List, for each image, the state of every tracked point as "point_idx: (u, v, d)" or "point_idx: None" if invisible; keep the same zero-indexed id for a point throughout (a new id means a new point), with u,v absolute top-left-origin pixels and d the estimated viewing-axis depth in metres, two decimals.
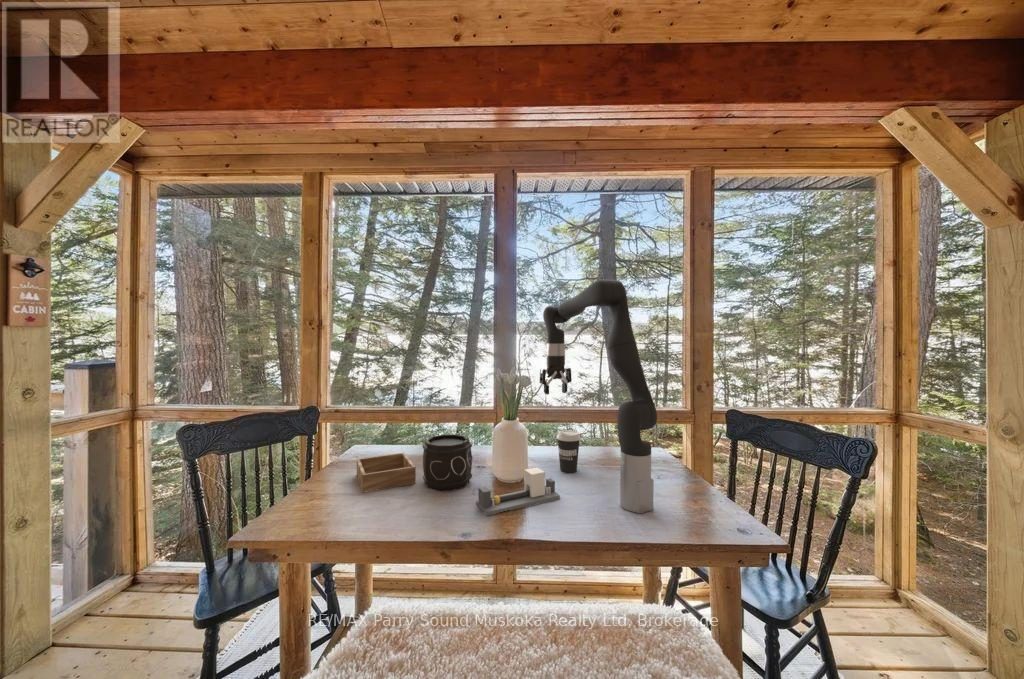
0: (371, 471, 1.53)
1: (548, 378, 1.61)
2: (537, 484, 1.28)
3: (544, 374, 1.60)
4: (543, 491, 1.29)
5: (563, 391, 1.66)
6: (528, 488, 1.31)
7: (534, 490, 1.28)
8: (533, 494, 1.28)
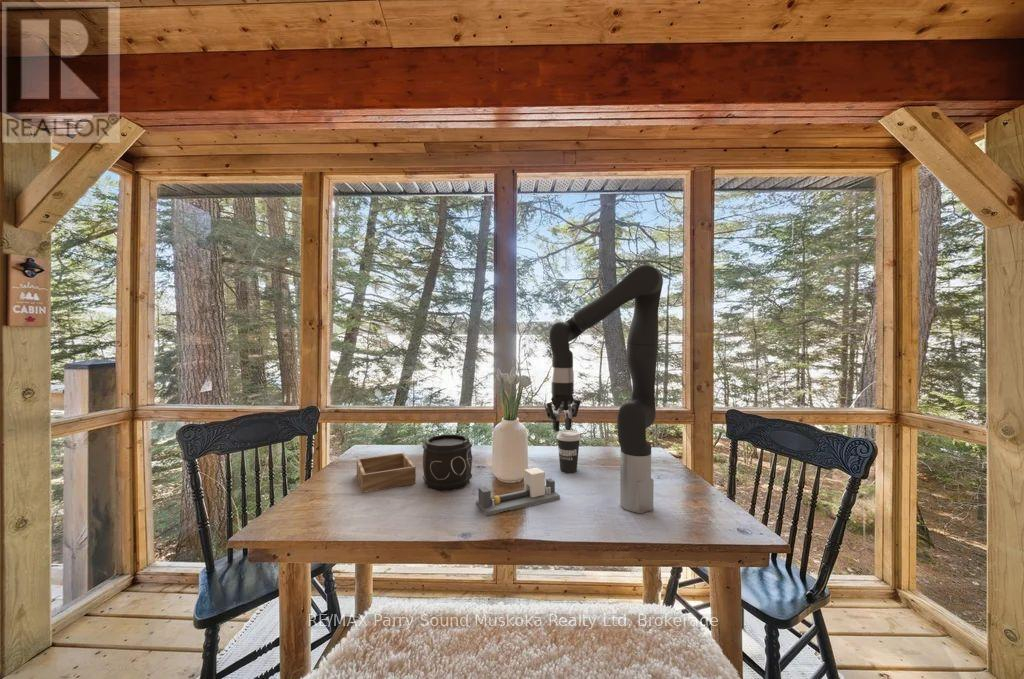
0: (371, 471, 1.53)
1: (556, 412, 1.34)
2: (537, 484, 1.28)
3: (550, 408, 1.32)
4: (543, 491, 1.29)
5: (567, 428, 1.36)
6: (528, 488, 1.31)
7: (534, 490, 1.28)
8: (533, 494, 1.28)
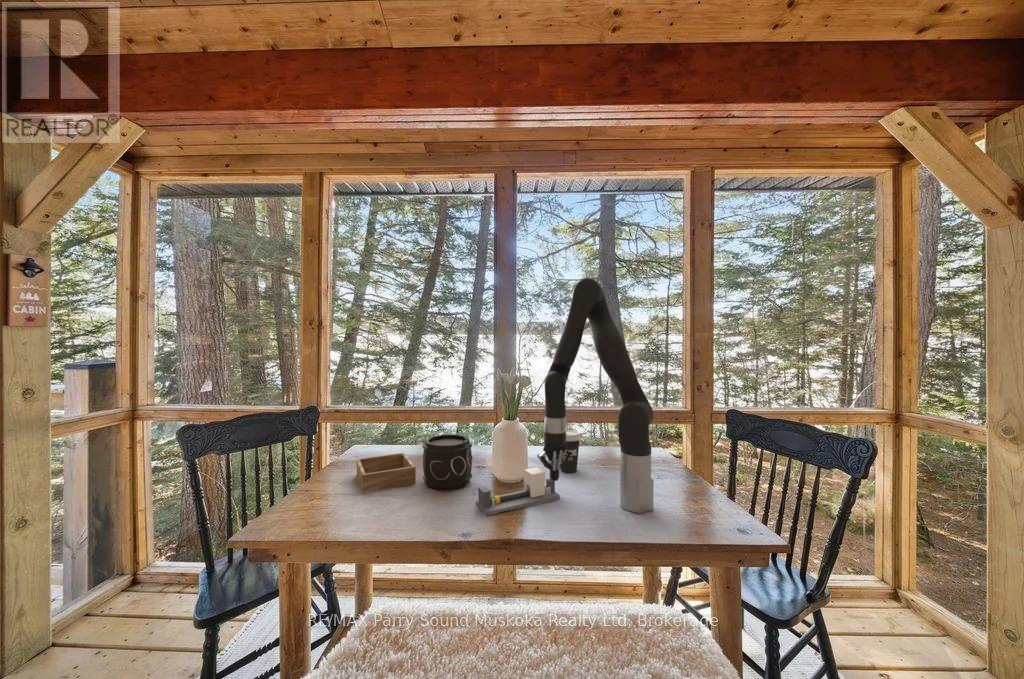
0: (371, 471, 1.53)
1: (551, 462, 1.33)
2: (537, 484, 1.28)
3: (545, 460, 1.31)
4: (543, 491, 1.29)
5: None
6: (528, 488, 1.31)
7: (534, 490, 1.28)
8: (533, 494, 1.28)
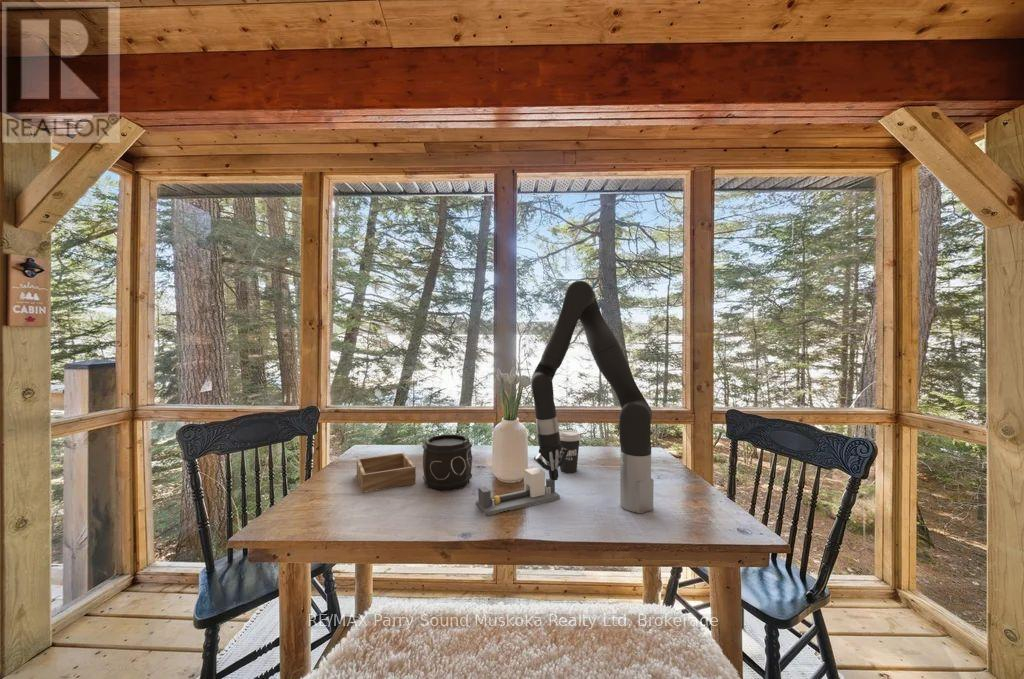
0: (371, 471, 1.53)
1: (548, 462, 1.33)
2: (537, 484, 1.28)
3: (541, 462, 1.31)
4: (543, 491, 1.29)
5: None
6: (528, 488, 1.31)
7: (534, 490, 1.28)
8: (533, 494, 1.28)
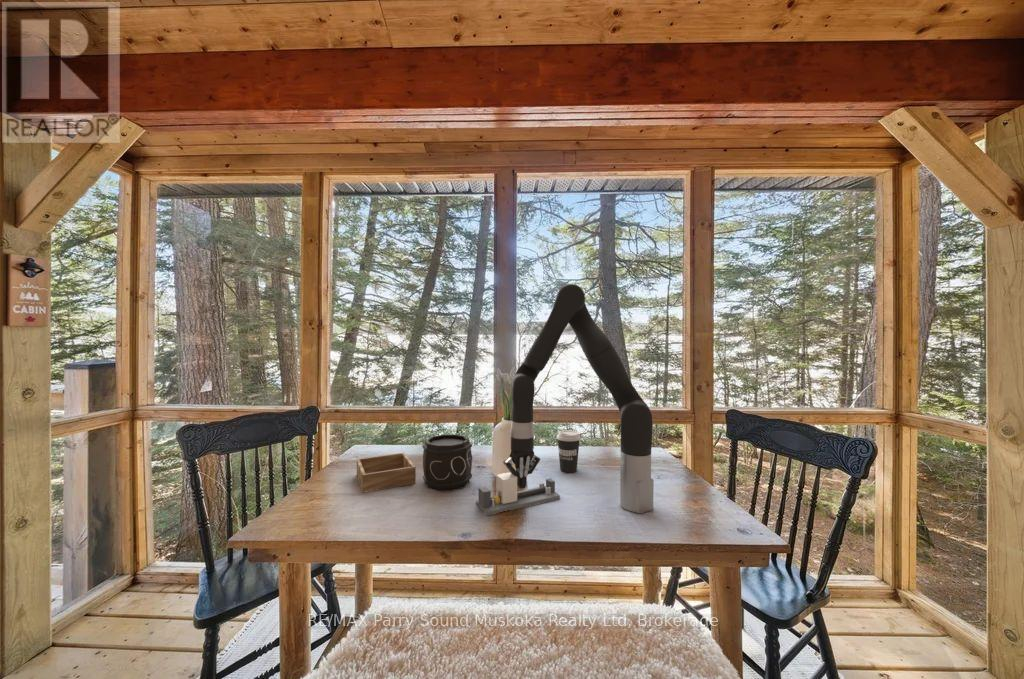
0: (371, 471, 1.53)
1: (518, 468, 1.28)
2: (509, 490, 1.24)
3: (511, 467, 1.26)
4: (515, 497, 1.25)
5: None
6: (500, 494, 1.27)
7: (505, 496, 1.23)
8: (504, 500, 1.23)
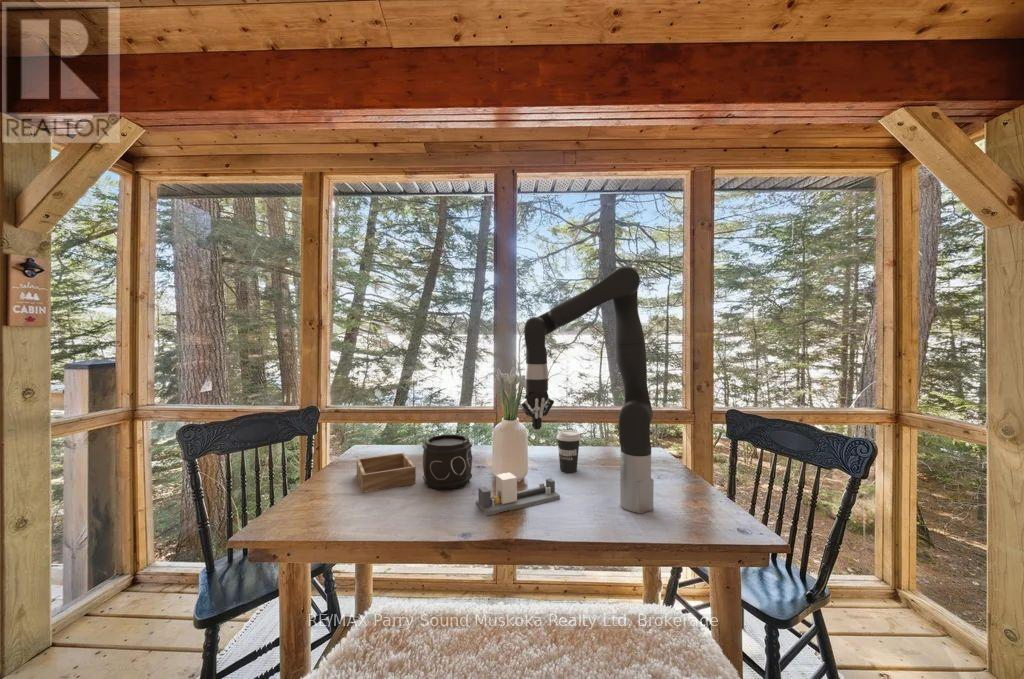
0: (371, 471, 1.53)
1: (533, 410, 1.31)
2: (508, 490, 1.24)
3: (526, 408, 1.29)
4: (515, 497, 1.25)
5: None
6: (500, 494, 1.27)
7: (505, 496, 1.23)
8: (504, 500, 1.23)
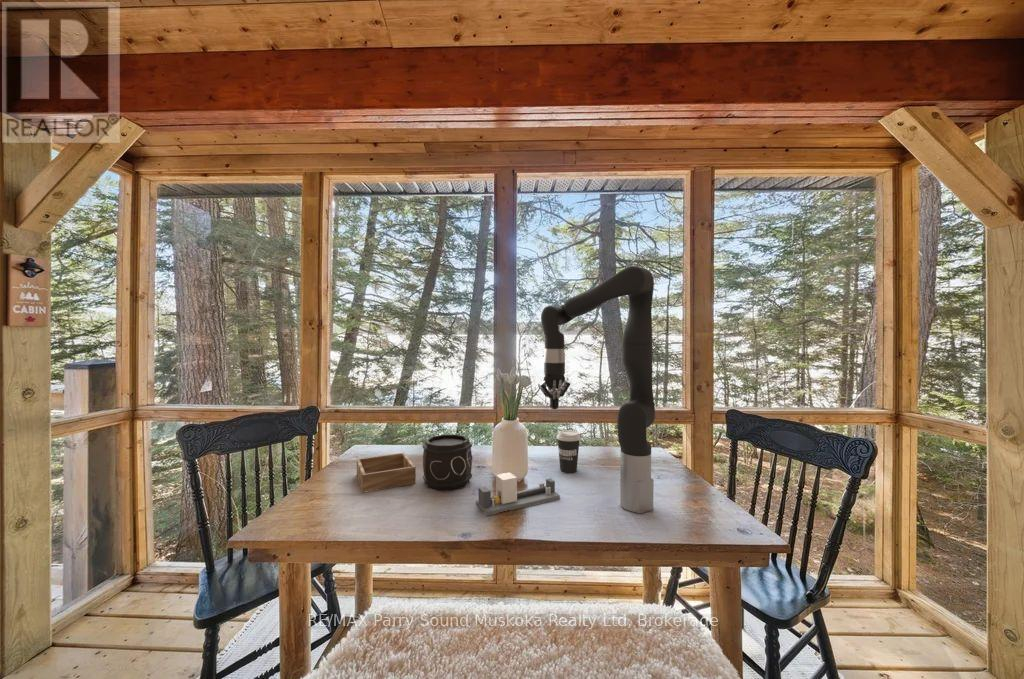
0: (371, 471, 1.53)
1: (551, 391, 1.42)
2: (508, 490, 1.24)
3: (545, 389, 1.40)
4: (515, 497, 1.25)
5: None
6: (500, 494, 1.27)
7: (505, 496, 1.23)
8: (504, 500, 1.23)
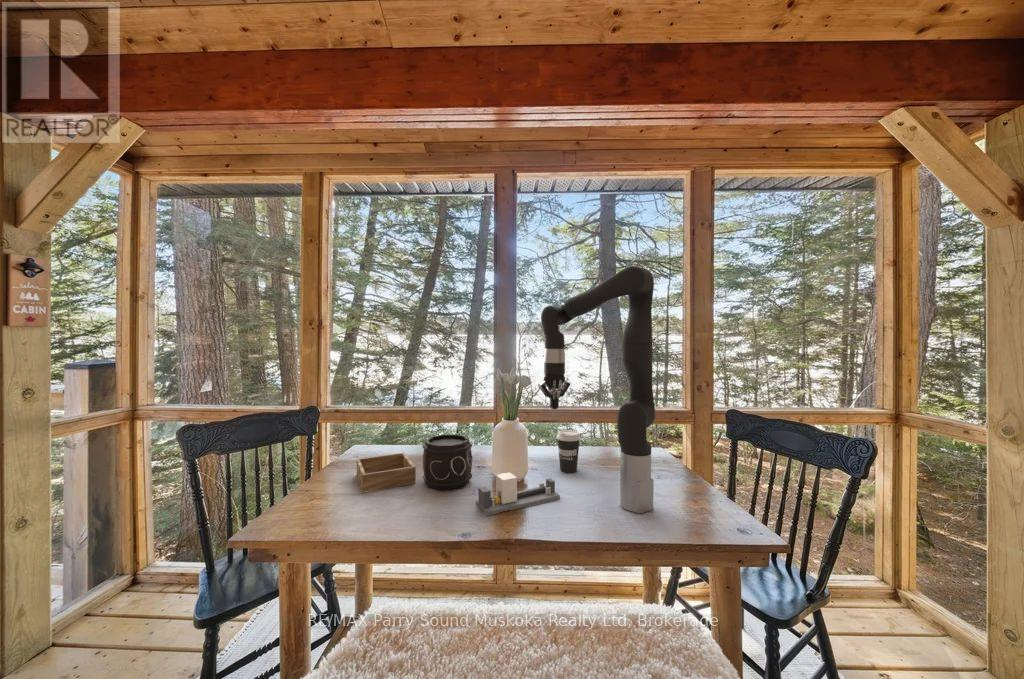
0: (371, 471, 1.53)
1: (551, 391, 1.42)
2: (508, 490, 1.24)
3: (545, 389, 1.40)
4: (515, 497, 1.25)
5: None
6: (500, 494, 1.27)
7: (505, 496, 1.23)
8: (504, 500, 1.23)
